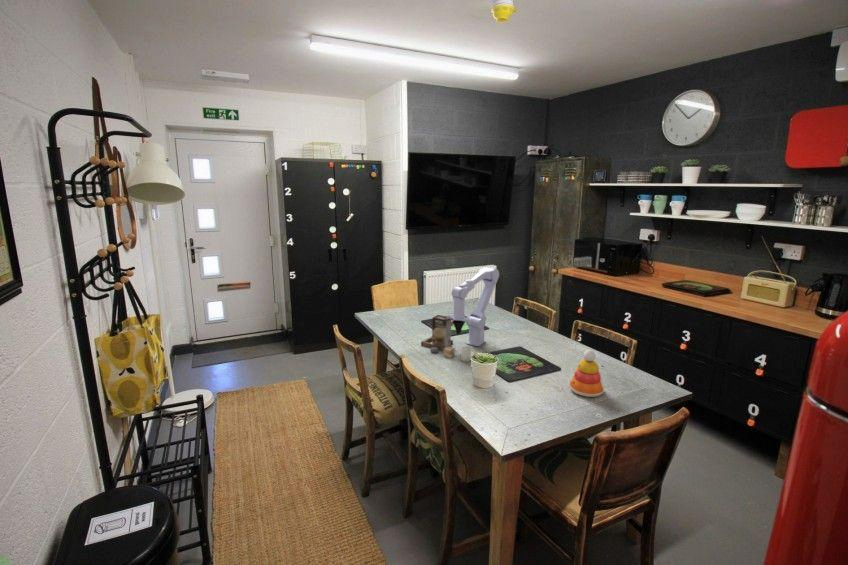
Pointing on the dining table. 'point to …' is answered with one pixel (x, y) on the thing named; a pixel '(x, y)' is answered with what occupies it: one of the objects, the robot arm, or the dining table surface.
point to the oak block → (449, 351)
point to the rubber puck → (434, 350)
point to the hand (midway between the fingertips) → (458, 333)
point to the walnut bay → (427, 344)
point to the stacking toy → (587, 377)
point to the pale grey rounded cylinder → (465, 354)
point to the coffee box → (441, 331)
